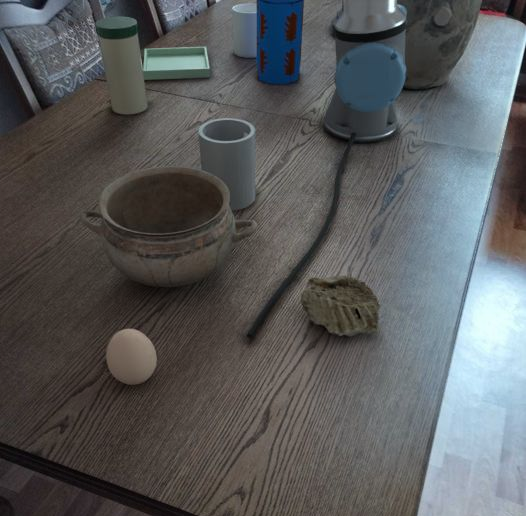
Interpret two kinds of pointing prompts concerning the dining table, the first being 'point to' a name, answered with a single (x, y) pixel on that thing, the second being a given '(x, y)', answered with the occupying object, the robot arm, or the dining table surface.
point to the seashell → (341, 305)
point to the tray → (176, 63)
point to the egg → (131, 357)
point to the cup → (230, 157)
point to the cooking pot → (167, 225)
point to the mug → (245, 30)
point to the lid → (116, 27)
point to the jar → (124, 74)
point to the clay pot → (436, 38)
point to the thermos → (279, 40)
